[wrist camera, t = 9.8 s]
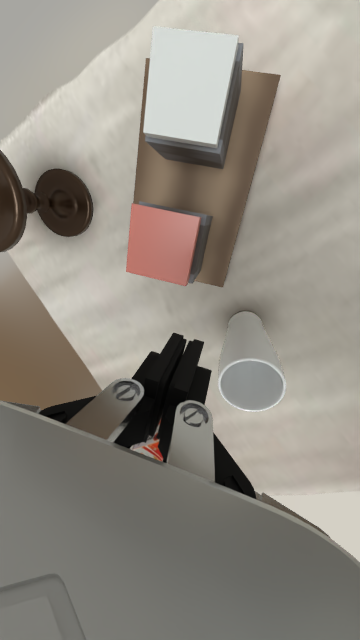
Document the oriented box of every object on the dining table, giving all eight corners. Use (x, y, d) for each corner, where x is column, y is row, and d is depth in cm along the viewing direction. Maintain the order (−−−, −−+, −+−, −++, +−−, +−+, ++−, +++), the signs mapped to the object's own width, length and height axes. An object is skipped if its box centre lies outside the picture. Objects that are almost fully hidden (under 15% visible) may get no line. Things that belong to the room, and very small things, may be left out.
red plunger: (208, 218, 28) (199, 217, 21) (197, 270, 31) (185, 286, 23) (158, 207, 29) (131, 203, 21) (151, 259, 31) (126, 271, 24)
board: (275, 90, 26) (298, 19, 17) (223, 282, 35) (219, 303, 26) (154, 74, 27) (115, 1, 18) (135, 261, 36) (103, 274, 27)
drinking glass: (215, 316, 37) (205, 370, 24) (256, 298, 35) (271, 347, 21) (234, 350, 39) (234, 419, 25) (274, 335, 36) (298, 403, 23)
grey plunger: (237, 92, 24) (238, 35, 16) (221, 165, 27) (216, 144, 19) (177, 84, 25) (153, 26, 17) (167, 156, 27) (143, 132, 20)
